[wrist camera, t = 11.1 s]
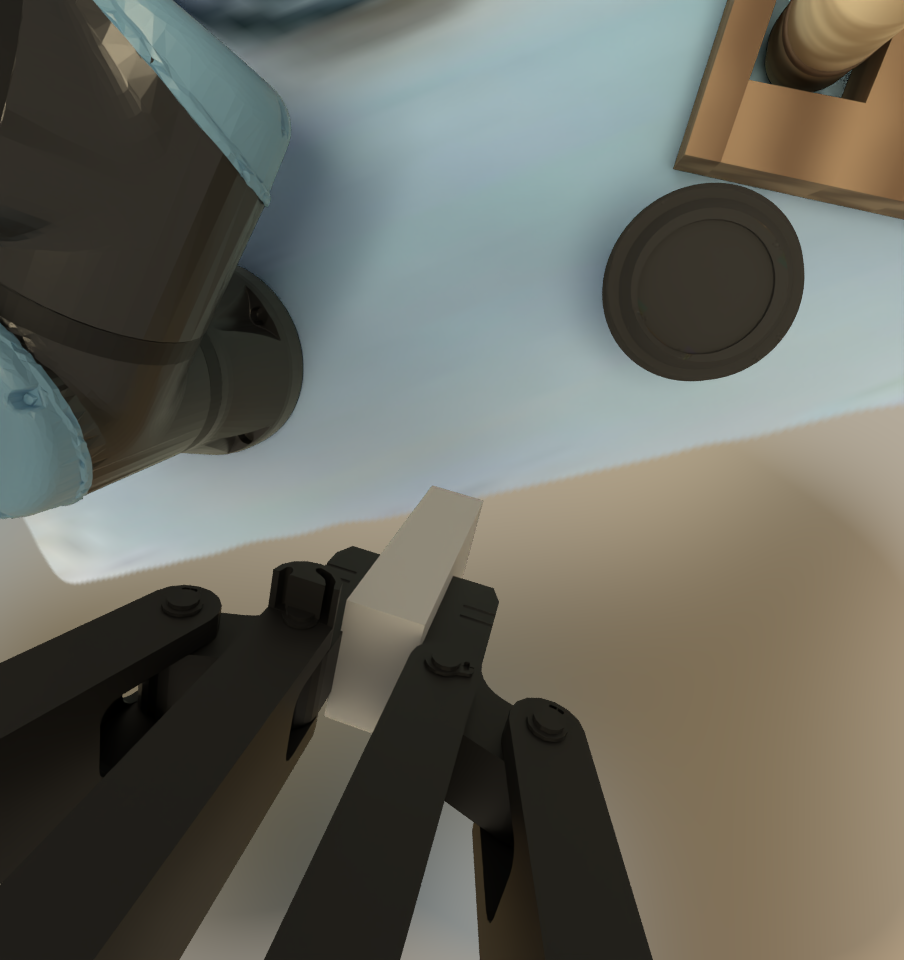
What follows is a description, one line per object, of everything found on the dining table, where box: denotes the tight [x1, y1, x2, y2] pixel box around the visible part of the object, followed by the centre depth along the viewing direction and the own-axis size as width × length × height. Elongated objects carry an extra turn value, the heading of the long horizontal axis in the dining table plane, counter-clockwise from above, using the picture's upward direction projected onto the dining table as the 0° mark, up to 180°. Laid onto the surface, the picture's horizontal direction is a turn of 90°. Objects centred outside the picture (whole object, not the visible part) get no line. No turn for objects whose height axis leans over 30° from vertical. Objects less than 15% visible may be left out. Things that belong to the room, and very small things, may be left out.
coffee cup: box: [602, 183, 804, 381], centre depth 34 cm, size 9×9×15 cm
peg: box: [765, 0, 904, 92], centre depth 30 cm, size 5×5×12 cm
